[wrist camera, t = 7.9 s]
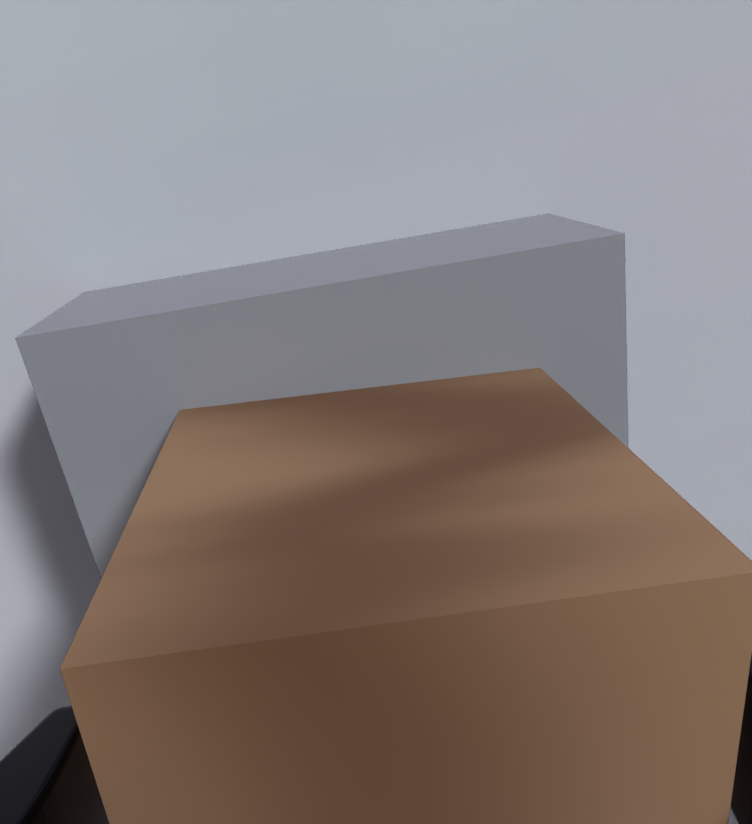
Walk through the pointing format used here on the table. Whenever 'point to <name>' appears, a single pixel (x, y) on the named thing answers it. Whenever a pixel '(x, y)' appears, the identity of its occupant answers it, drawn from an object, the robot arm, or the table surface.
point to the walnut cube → (413, 620)
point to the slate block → (322, 340)
